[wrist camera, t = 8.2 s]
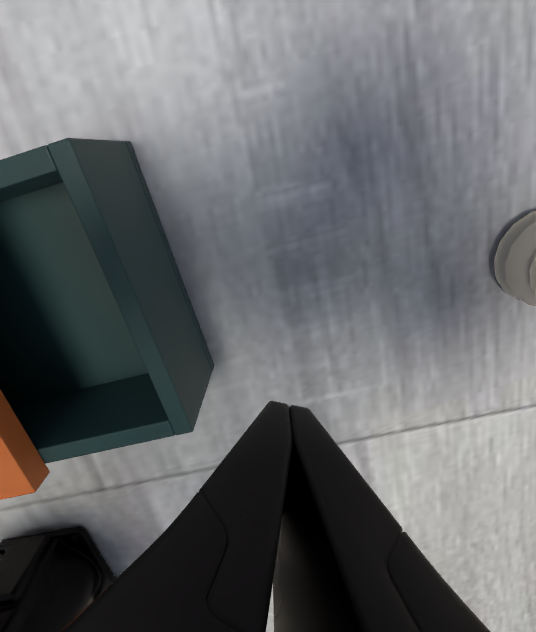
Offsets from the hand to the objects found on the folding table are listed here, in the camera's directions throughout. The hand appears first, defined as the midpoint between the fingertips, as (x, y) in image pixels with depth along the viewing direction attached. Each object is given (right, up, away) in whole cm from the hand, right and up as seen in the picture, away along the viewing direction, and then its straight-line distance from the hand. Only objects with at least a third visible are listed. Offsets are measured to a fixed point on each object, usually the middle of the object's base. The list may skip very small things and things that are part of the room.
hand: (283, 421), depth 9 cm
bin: (-14, +2, +13) cm, 19 cm away
